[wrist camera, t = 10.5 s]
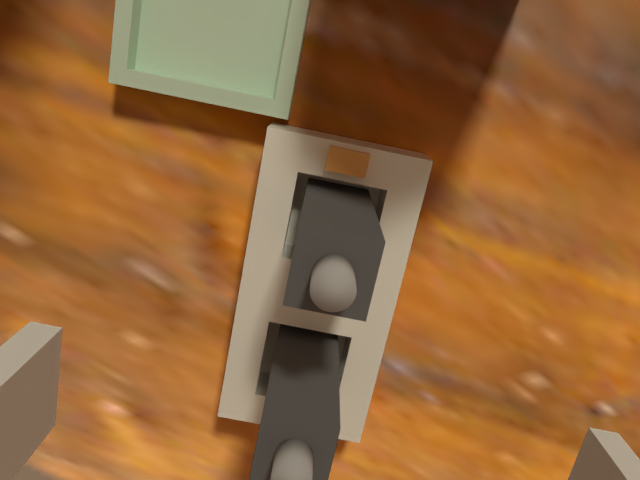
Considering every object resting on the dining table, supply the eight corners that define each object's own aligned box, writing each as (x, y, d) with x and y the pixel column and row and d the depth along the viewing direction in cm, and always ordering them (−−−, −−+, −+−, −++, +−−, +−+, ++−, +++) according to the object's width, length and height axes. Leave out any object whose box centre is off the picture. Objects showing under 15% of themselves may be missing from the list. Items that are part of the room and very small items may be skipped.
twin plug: (272, 364, 40) (243, 509, 27) (282, 315, 39) (256, 440, 26) (326, 375, 40) (323, 523, 27) (337, 325, 39) (341, 455, 26)
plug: (297, 234, 37) (278, 323, 24) (308, 177, 36) (295, 237, 23) (355, 246, 38) (368, 341, 24) (368, 189, 36) (390, 255, 23)
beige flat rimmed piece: (226, 388, 41) (215, 423, 37) (273, 122, 36) (265, 128, 32) (357, 413, 42) (360, 450, 38) (423, 153, 36) (435, 163, 32)
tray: (120, 82, 35) (108, 82, 33) (138, -111, 32) (126, -123, 30) (290, 117, 36) (287, 119, 34) (324, -70, 33) (323, -79, 31)
